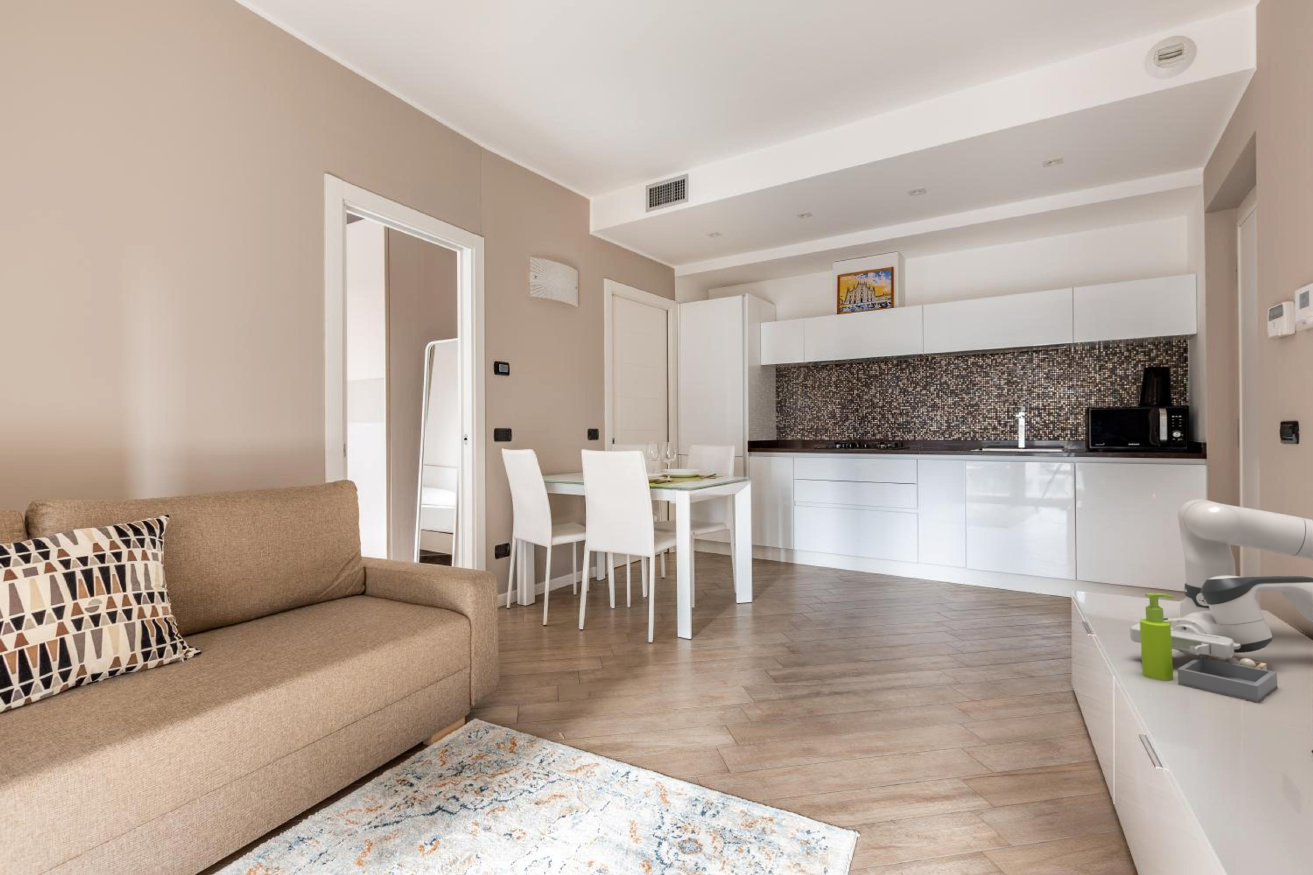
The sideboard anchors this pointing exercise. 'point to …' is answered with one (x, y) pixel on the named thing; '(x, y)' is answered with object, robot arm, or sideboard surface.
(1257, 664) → the parts tray
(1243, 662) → the pebble
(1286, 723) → the sideboard surface
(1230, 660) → the pebble
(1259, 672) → the dish
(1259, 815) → the sideboard surface
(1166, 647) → the soap dispenser
